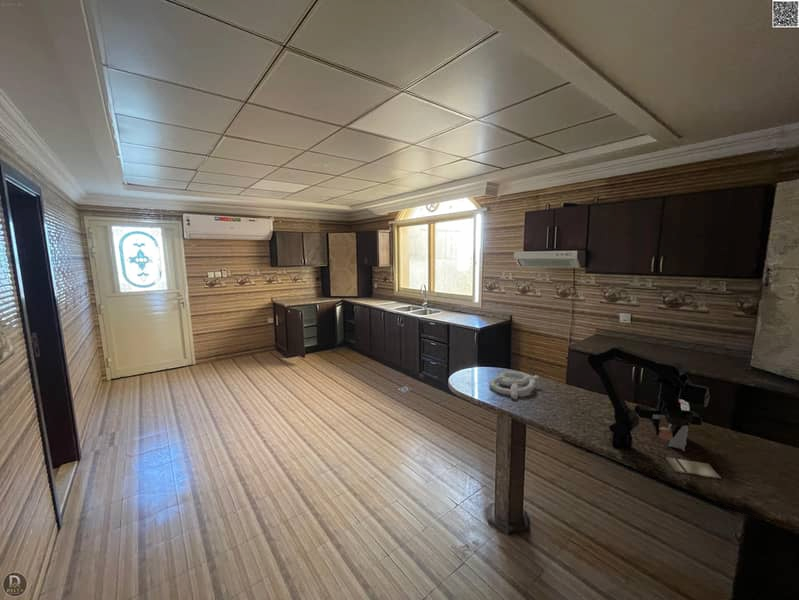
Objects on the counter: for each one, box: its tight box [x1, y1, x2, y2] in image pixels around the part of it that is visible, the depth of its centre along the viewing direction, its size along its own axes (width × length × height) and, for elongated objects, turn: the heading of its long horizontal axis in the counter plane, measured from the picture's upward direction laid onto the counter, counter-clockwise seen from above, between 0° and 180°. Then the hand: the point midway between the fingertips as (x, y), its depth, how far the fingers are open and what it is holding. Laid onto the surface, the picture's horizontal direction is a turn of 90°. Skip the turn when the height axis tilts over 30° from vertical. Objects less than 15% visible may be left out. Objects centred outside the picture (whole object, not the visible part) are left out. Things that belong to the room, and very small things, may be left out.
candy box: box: [667, 398, 691, 452], centre depth 136 cm, size 14×6×16 cm, turn 141°
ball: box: [657, 426, 673, 441], centre depth 121 cm, size 4×4×4 cm
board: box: [665, 456, 722, 480], centre depth 120 cm, size 13×8×1 cm, turn 71°
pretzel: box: [488, 370, 540, 400], centre depth 190 cm, size 28×24×6 cm
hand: (664, 435), depth 122 cm, fingers closed on ball, 4 cm apart
